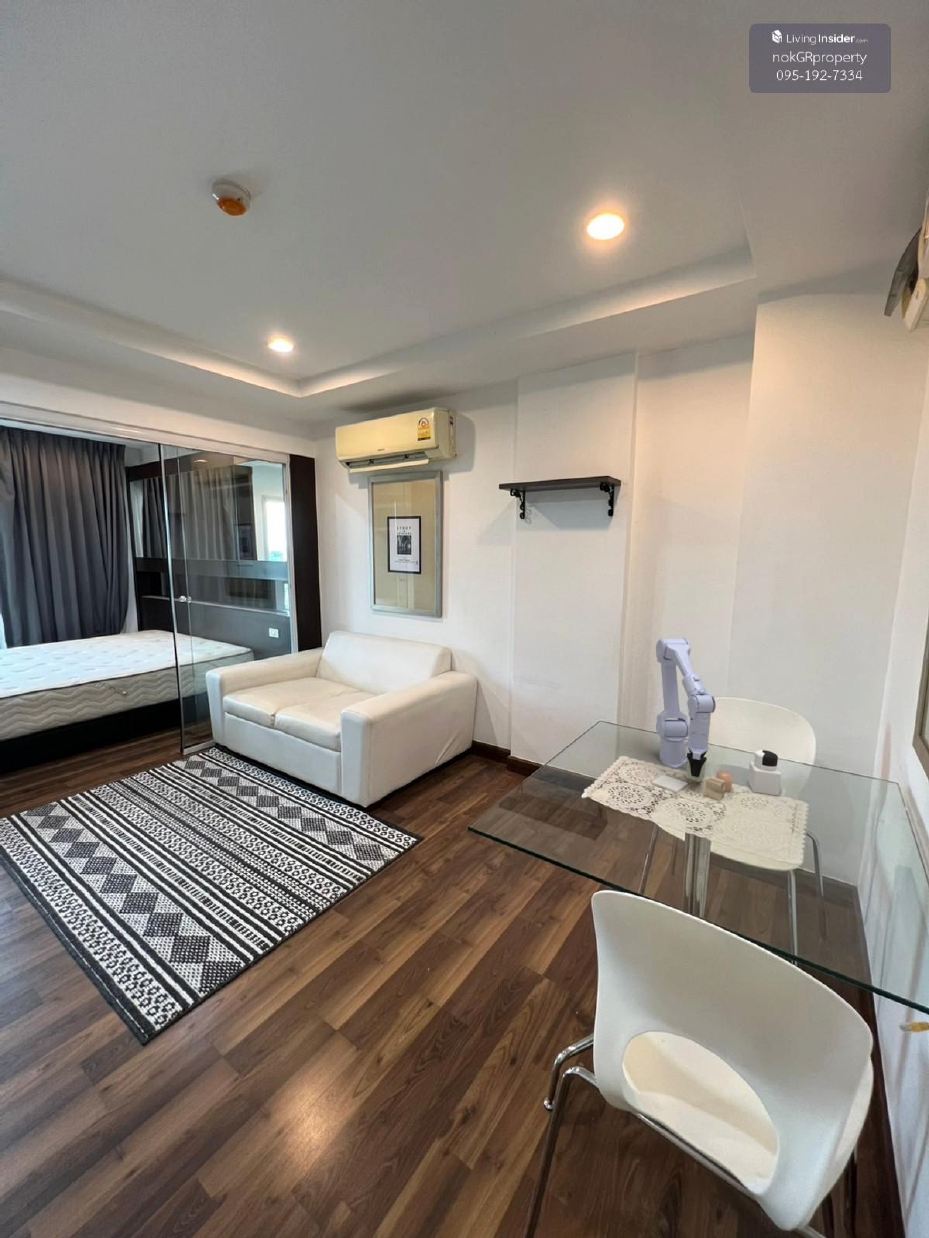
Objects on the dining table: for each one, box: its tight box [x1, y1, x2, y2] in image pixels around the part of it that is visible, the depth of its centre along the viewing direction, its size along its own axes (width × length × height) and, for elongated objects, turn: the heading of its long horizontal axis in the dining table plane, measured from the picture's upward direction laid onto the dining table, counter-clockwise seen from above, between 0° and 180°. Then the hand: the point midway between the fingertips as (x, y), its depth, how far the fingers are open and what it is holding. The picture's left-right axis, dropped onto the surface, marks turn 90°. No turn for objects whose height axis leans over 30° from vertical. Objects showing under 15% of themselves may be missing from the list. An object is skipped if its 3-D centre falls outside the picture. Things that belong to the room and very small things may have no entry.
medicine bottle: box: [747, 749, 782, 797], centre depth 150 cm, size 7×7×12 cm
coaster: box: [651, 774, 688, 794], centre depth 153 cm, size 8×8×1 cm
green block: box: [685, 759, 706, 782], centre depth 153 cm, size 4×4×6 cm
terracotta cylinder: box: [715, 770, 734, 793], centre depth 150 cm, size 4×4×5 cm
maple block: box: [704, 776, 726, 802], centre depth 146 cm, size 4×4×5 cm
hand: (695, 772), depth 154 cm, fingers closed on green block, 5 cm apart
